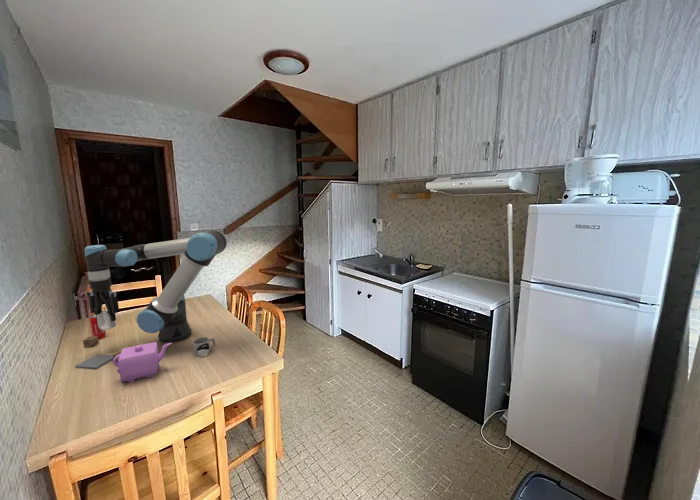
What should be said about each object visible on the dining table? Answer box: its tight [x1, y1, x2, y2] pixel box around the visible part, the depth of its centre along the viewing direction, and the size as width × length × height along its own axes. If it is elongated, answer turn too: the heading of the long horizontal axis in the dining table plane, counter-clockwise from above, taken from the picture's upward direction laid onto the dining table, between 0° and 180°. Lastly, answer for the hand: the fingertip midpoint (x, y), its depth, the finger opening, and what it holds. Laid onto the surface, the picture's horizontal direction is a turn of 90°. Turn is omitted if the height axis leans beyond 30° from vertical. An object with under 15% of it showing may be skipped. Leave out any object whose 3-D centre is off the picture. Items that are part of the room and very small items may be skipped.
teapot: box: [112, 341, 173, 384], centre depth 120 cm, size 20×10×12 cm, turn 120°
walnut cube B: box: [112, 350, 122, 363], centre depth 129 cm, size 4×4×4 cm
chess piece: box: [101, 306, 110, 331], centre depth 136 cm, size 5×5×10 cm
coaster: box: [74, 353, 113, 370], centre depth 129 cm, size 10×10×1 cm
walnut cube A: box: [82, 335, 100, 349], centre depth 143 cm, size 4×4×4 cm
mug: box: [192, 337, 216, 358], centre depth 137 cm, size 10×7×7 cm, turn 143°
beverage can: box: [89, 314, 107, 340], centre depth 151 cm, size 5×5×12 cm
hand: (107, 327), depth 137 cm, fingers closed on chess piece, 5 cm apart
